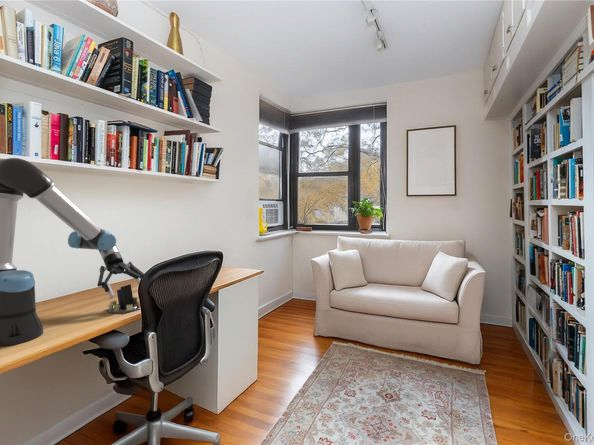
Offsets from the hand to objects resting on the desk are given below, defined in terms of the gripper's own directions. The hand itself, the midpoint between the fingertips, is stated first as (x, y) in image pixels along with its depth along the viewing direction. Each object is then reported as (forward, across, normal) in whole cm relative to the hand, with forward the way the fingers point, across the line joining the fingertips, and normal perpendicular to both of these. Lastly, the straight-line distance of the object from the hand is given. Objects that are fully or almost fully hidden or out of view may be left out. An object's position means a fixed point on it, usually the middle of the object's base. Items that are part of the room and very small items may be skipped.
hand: (128, 293), depth 146 cm
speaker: (+3, +1, -6) cm, 7 cm away
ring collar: (+3, 0, -7) cm, 7 cm away
